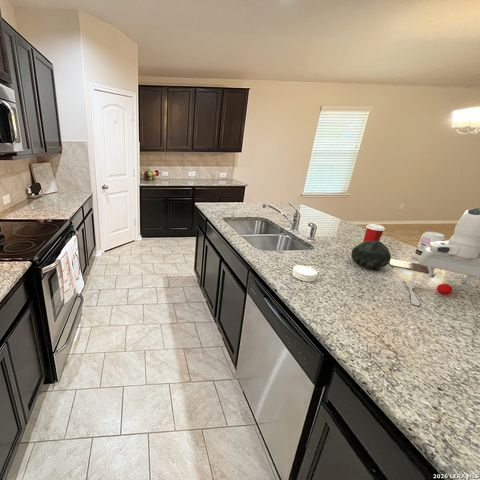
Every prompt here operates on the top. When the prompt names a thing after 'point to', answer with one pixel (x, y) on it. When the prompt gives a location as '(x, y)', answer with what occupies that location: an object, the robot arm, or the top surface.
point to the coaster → (304, 273)
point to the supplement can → (427, 242)
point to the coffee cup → (373, 232)
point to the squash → (371, 254)
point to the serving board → (409, 265)
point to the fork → (412, 294)
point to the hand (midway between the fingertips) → (446, 280)
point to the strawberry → (444, 289)
